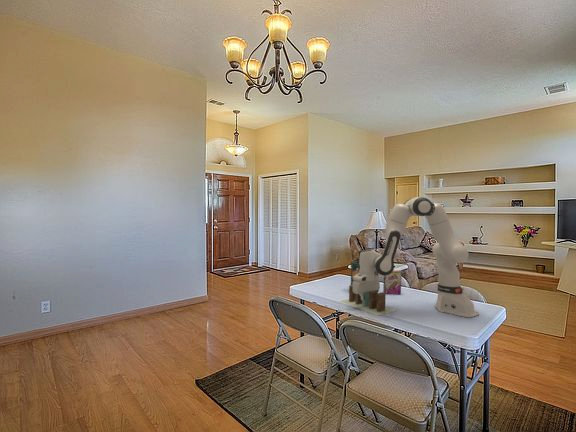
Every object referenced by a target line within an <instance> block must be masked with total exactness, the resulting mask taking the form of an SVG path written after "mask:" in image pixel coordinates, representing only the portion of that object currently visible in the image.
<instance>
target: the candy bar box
mask: <svg viewBox="0 0 576 432" xmlns="http://www.w3.org/2000/svg"><path fill="white" fill-rule="evenodd" d="M383 293H386V295H401V293H402V270H400V269H394V270H393V272H392V273H391V274H389V275H383Z"/></svg>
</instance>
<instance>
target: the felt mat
mask: <svg viewBox="0 0 576 432" xmlns="http://www.w3.org/2000/svg"><path fill="white" fill-rule="evenodd" d="M339 302H341V303H343V304H346V305H347V306H348V305H349V306H351V307H354V308H356V309H359V310H363V311H365V312H368V313H370V314H374V315H377V316H381V315H385V314H389V313H392V312H396V310H395V309H392V308H389V307H387V306H385V311H381V312H378V311H377V308H375V309H369V305H368V306H362V304H355V302H349V298H348V299H344V300H339Z"/></svg>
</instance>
